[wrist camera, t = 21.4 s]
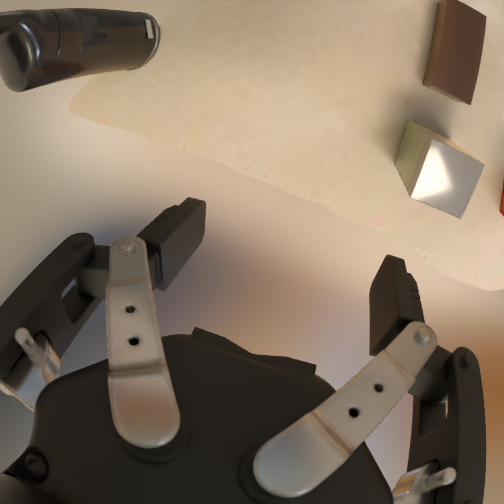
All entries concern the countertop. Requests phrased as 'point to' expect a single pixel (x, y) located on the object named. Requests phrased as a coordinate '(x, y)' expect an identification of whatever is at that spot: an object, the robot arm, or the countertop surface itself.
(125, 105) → the countertop surface
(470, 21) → the riser
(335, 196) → the countertop surface
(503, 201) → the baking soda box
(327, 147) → the countertop surface
